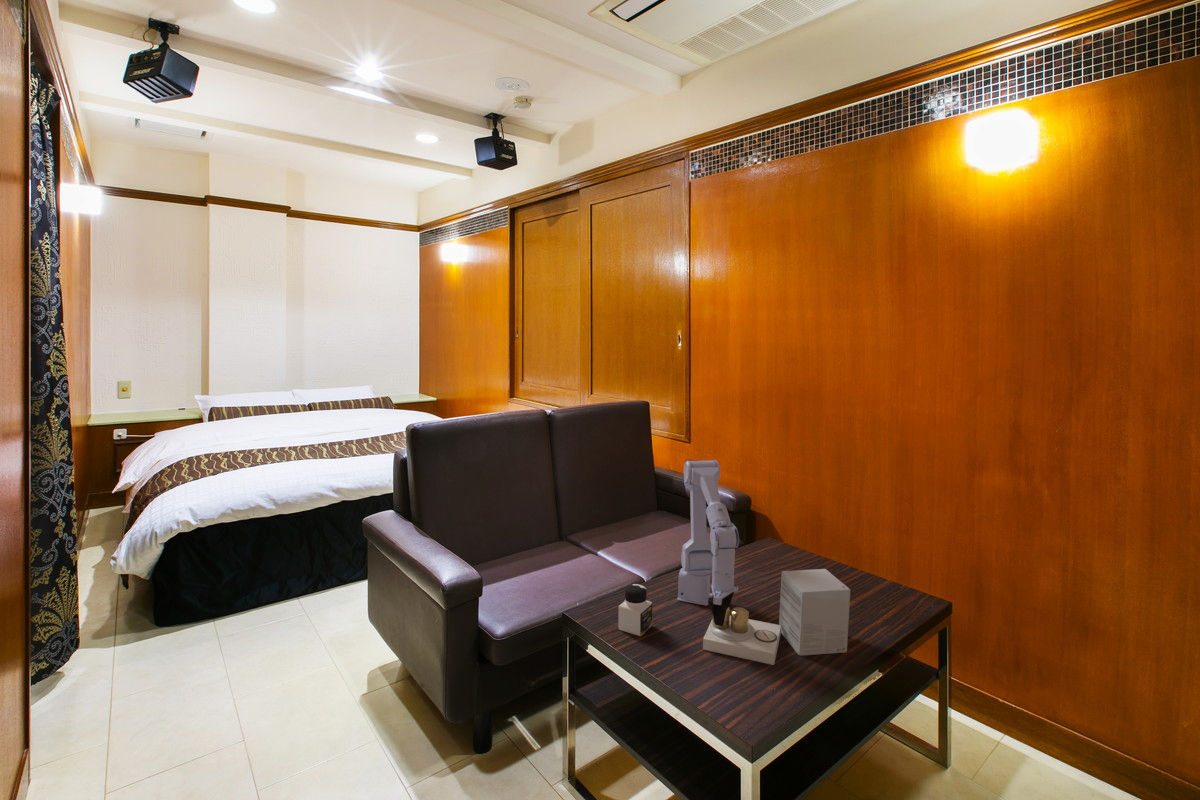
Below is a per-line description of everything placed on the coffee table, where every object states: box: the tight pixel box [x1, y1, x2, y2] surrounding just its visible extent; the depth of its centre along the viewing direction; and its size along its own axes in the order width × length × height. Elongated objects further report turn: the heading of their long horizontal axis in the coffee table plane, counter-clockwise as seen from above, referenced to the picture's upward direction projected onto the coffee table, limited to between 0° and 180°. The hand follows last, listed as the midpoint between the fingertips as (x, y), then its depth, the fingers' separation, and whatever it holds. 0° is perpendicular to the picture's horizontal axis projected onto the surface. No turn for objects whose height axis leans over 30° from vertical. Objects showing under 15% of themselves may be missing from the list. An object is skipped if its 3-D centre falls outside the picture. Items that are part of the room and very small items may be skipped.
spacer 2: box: [730, 606, 750, 634], centre depth 156 cm, size 4×4×5 cm
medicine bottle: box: [618, 583, 653, 637], centre depth 163 cm, size 7×7×12 cm
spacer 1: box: [712, 607, 731, 630], centre depth 158 cm, size 4×4×5 cm
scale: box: [702, 615, 782, 666], centre depth 156 cm, size 18×15×4 cm
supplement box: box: [778, 568, 851, 656], centre depth 156 cm, size 13×13×18 cm
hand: (721, 618), depth 158 cm, fingers open, 7 cm apart
